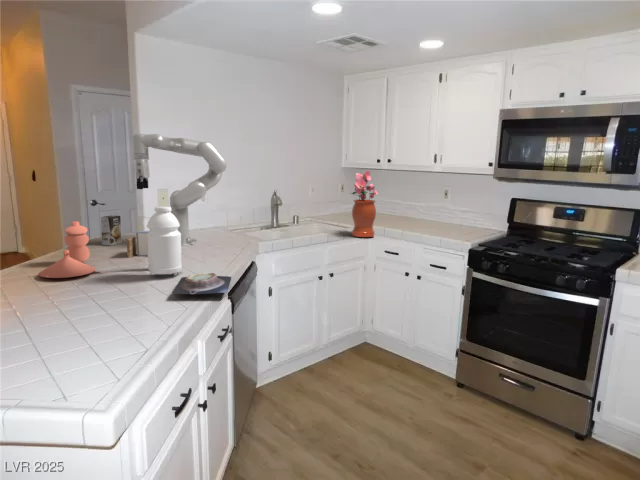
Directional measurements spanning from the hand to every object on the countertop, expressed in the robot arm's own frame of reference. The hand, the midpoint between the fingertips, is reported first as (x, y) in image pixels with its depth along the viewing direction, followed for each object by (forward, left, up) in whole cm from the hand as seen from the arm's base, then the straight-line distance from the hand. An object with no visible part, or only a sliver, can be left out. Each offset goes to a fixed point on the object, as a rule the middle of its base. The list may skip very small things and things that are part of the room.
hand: (142, 188), depth 234 cm
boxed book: (-8, +24, -32) cm, 41 cm away
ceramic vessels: (+17, +51, -33) cm, 63 cm away
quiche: (-45, +81, -33) cm, 98 cm away
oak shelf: (-8, +17, -32) cm, 37 cm away
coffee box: (+20, -6, -32) cm, 39 cm away
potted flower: (-133, -42, -32) cm, 143 cm away
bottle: (-25, +58, -32) cm, 71 cm away
